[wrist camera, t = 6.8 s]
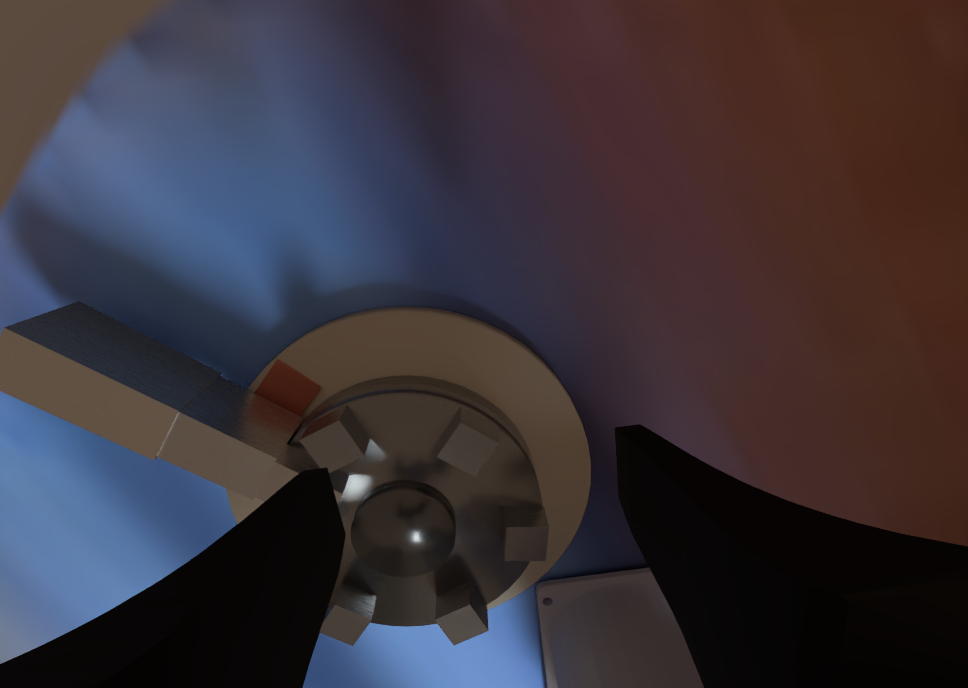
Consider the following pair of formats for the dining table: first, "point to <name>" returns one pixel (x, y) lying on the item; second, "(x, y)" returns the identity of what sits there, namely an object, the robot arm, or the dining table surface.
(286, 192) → the dining table surface
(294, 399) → the flange plate
